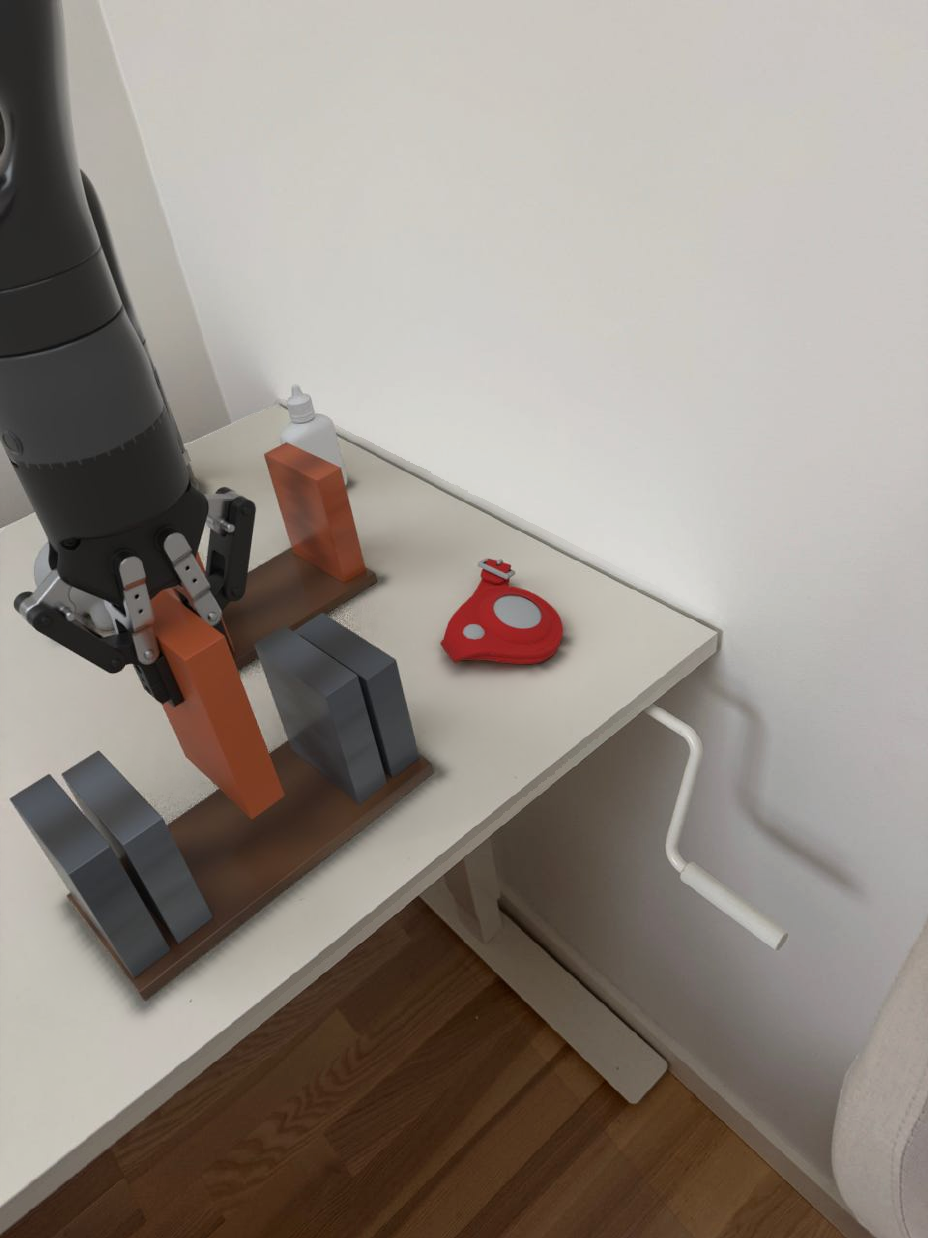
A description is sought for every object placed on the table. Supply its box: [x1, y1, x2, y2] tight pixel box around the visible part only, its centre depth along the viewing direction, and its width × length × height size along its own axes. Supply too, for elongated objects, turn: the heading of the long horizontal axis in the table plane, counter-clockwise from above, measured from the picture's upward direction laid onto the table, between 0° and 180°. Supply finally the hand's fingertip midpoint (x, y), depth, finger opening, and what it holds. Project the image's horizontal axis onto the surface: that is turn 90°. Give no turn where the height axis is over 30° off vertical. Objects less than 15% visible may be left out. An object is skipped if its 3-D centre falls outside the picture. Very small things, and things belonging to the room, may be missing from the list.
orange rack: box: [164, 442, 378, 671], centre depth 81 cm, size 10×17×12 cm, turn 133°
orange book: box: [150, 590, 284, 819], centre depth 57 cm, size 8×2×13 cm, turn 43°
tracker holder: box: [440, 557, 564, 665], centre depth 77 cm, size 12×4×10 cm
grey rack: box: [9, 613, 434, 1002], centre depth 61 cm, size 10×23×11 cm, turn 133°
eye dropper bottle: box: [279, 383, 348, 487], centre depth 96 cm, size 4×6×12 cm
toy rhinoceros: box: [33, 541, 115, 631], centre depth 86 cm, size 7×12×8 cm, turn 179°
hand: (194, 683), depth 56 cm, fingers closed on orange book, 2 cm apart
